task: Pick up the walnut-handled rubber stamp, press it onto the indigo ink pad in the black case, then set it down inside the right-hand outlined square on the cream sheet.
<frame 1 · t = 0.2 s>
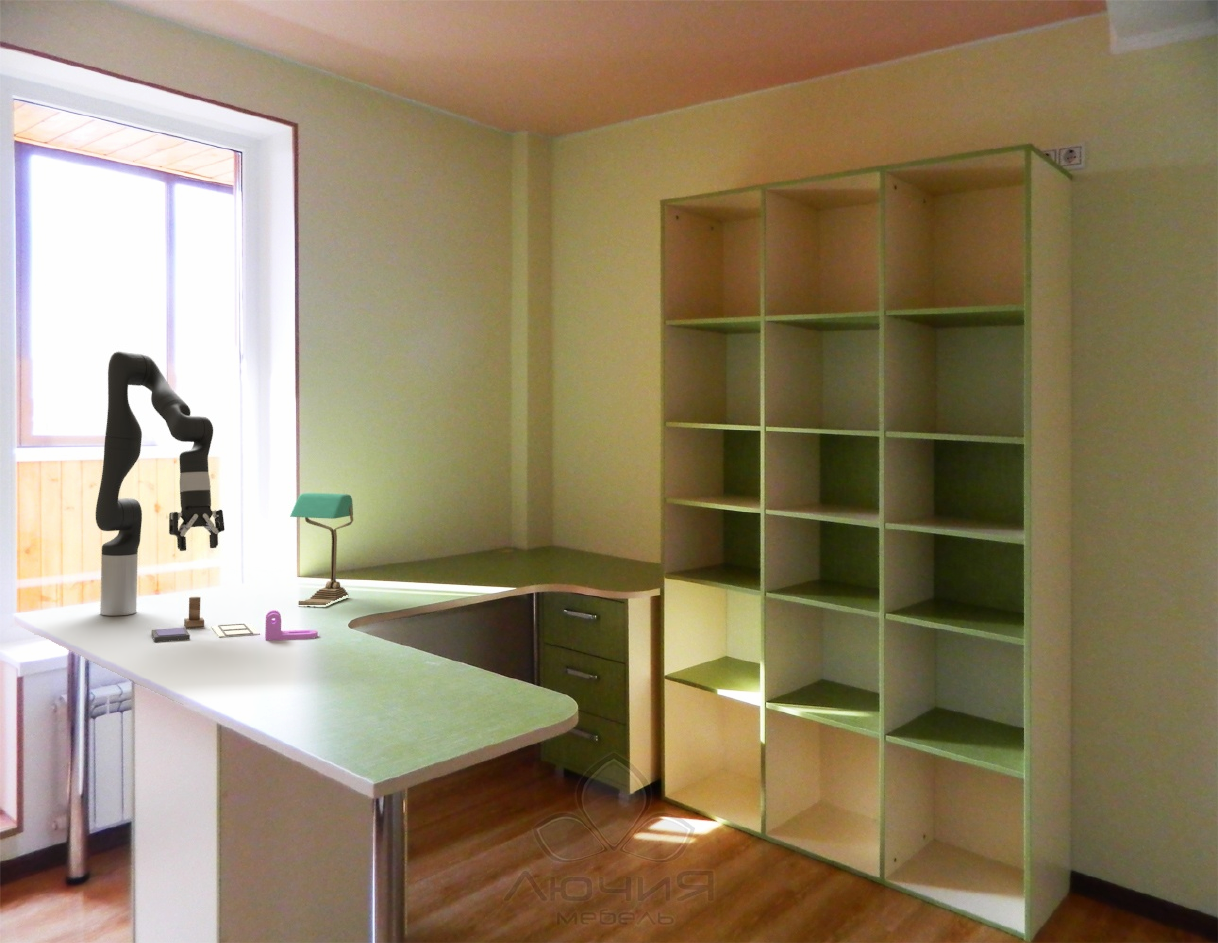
hand: (198, 549, 247), 22 cm above the table, tool pointing down, fingers open, 8 cm apart
stamp: (194, 626, 250), on the table
bracket: (291, 638, 242), on the table
ink pad: (170, 636, 237), on the table
banker's lamp: (323, 603, 294), on the table
sheet: (235, 630, 247), on the table
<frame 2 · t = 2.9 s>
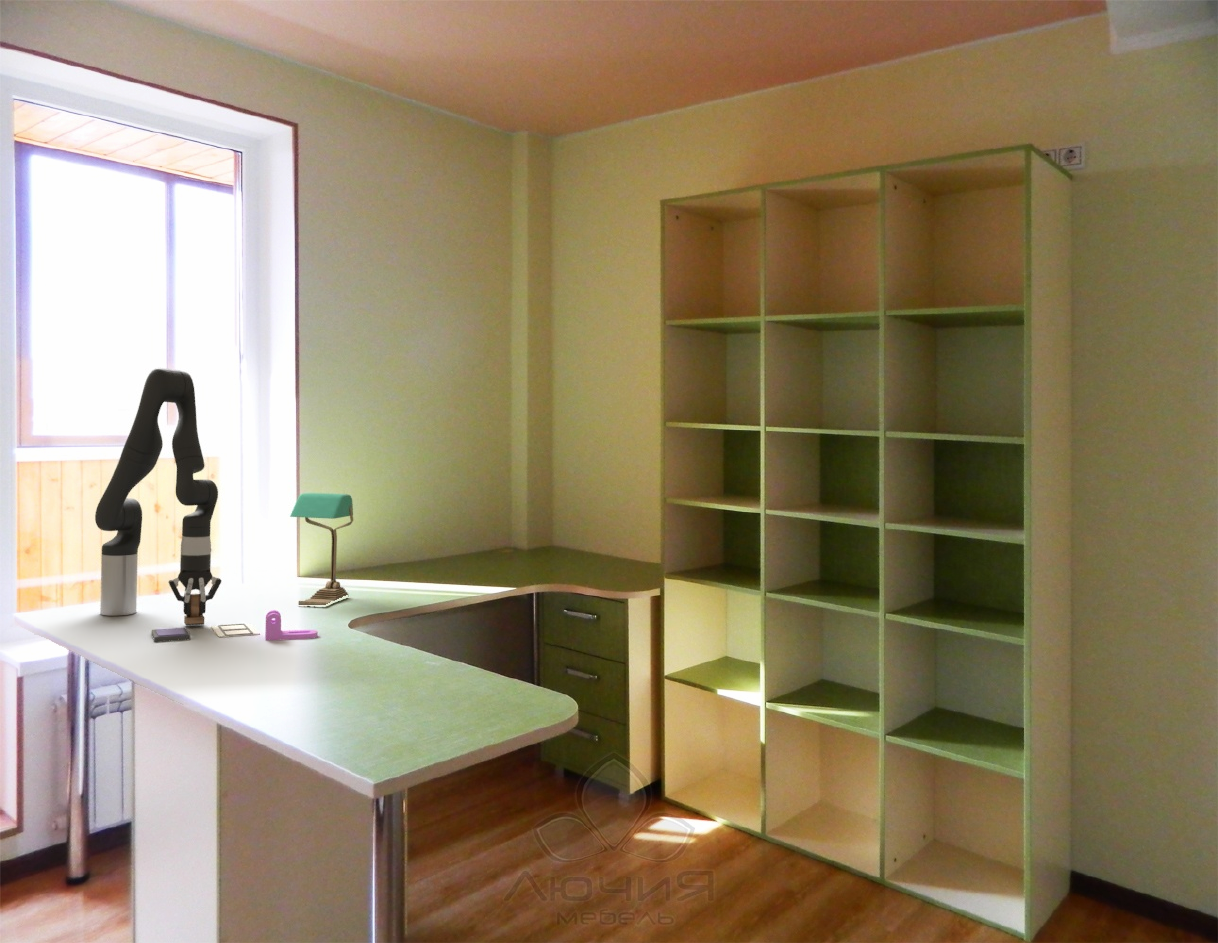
hand: (194, 615, 250), 3 cm above the table, tool pointing down, fingers closed on stamp, 2 cm apart
stamp: (194, 623, 250), point 1 cm above the table, touching gripper
everything else where it was.
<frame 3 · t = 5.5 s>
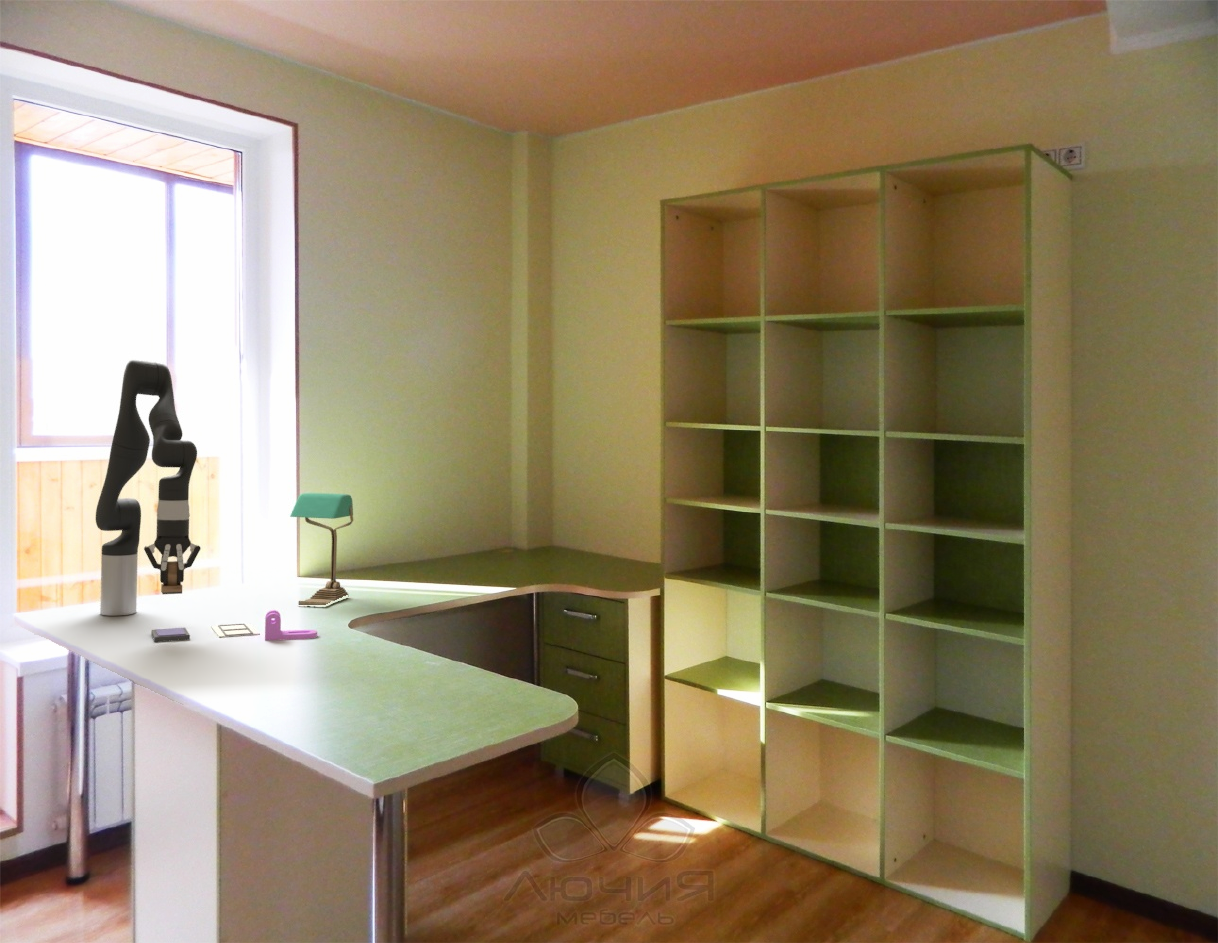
hand: (171, 584, 236), 14 cm above the table, tool pointing down, fingers closed on stamp, 2 cm apart
stamp: (171, 592, 236), point 12 cm above the table, touching gripper
everything else where it was.
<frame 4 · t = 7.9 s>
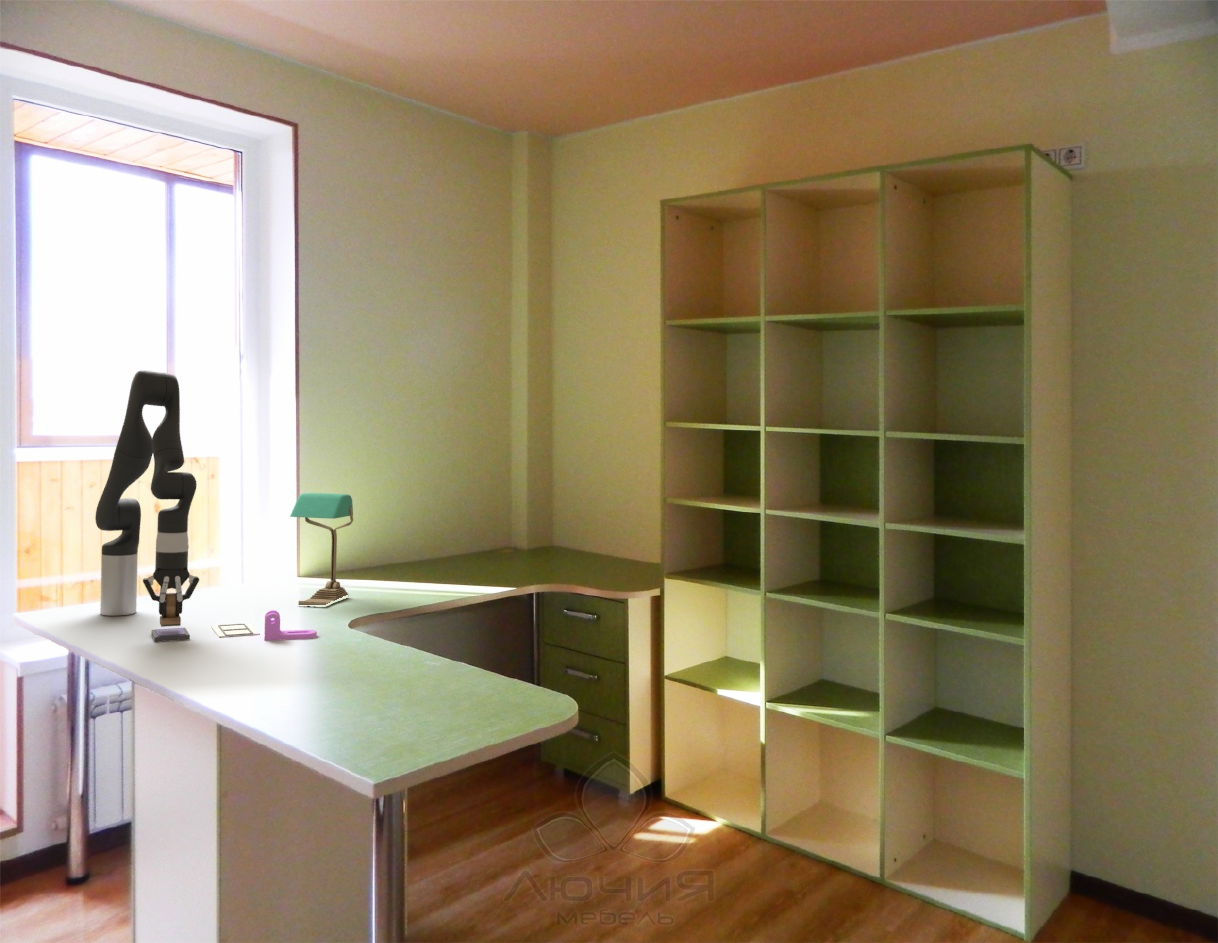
hand: (170, 615, 237), 5 cm above the table, tool pointing down, fingers closed on stamp, 2 cm apart
stamp: (170, 624, 237), point 3 cm above the table, touching gripper
everything else where it was.
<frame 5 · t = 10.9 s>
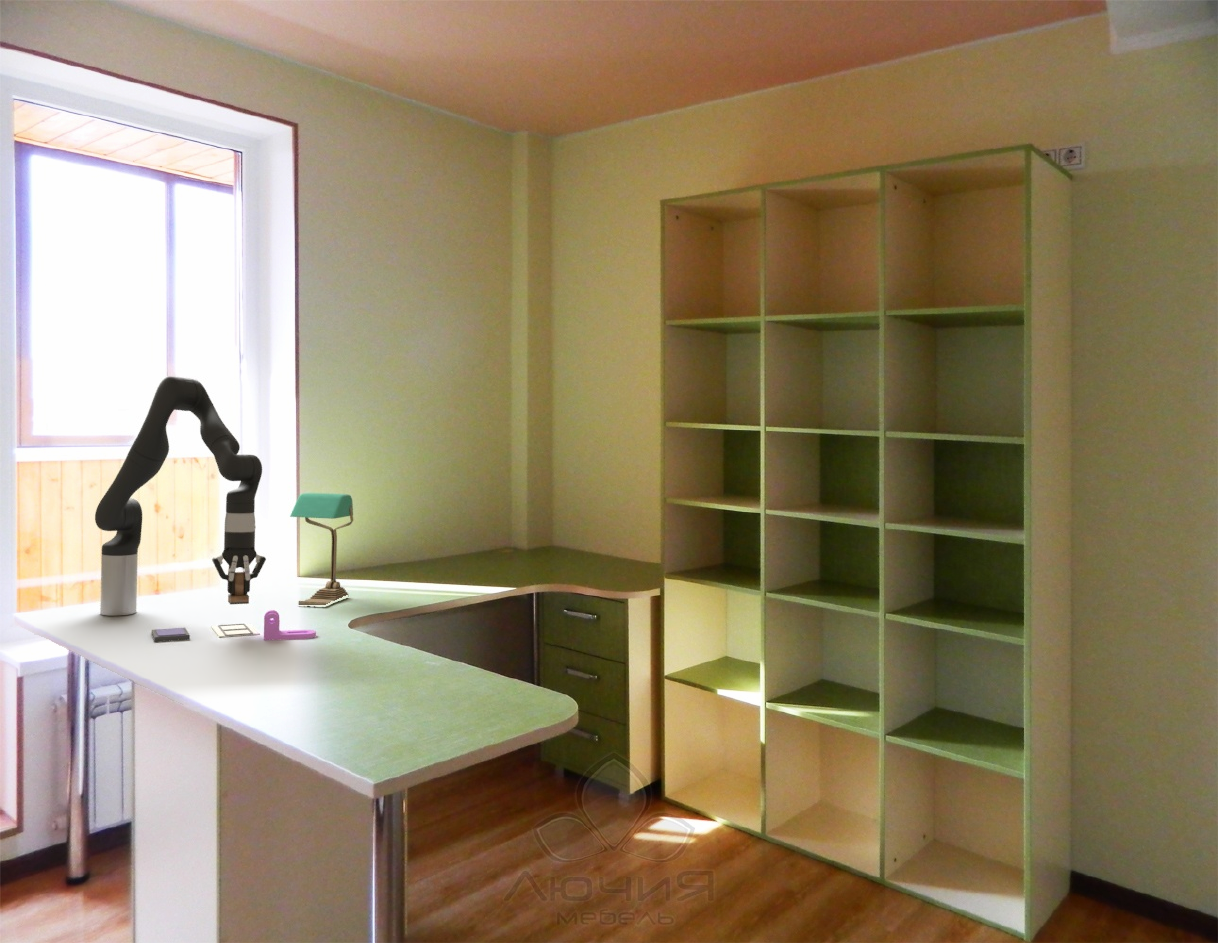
hand: (238, 594, 243), 10 cm above the table, tool pointing down, fingers closed on stamp, 2 cm apart
stamp: (238, 602, 243), point 8 cm above the table, touching gripper
everything else where it was.
when the fingers open (4 cm above the table, at t = 13.3 s): stamp drops 1 cm, resting on sheet.
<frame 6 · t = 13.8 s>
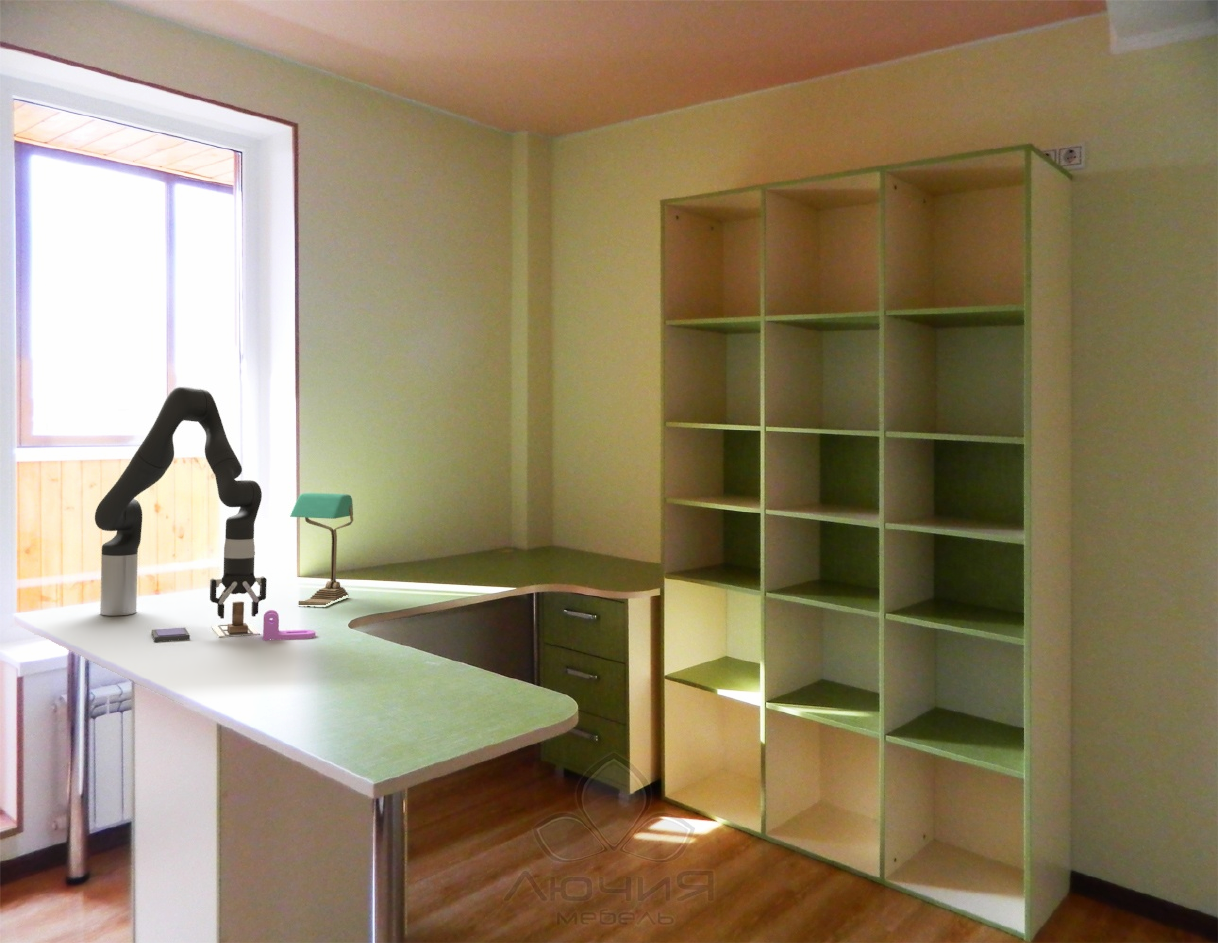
hand: (237, 616, 243), 4 cm above the table, tool pointing down, fingers open, 7 cm apart
stamp: (237, 632, 243), resting on sheet
everything else where it was.
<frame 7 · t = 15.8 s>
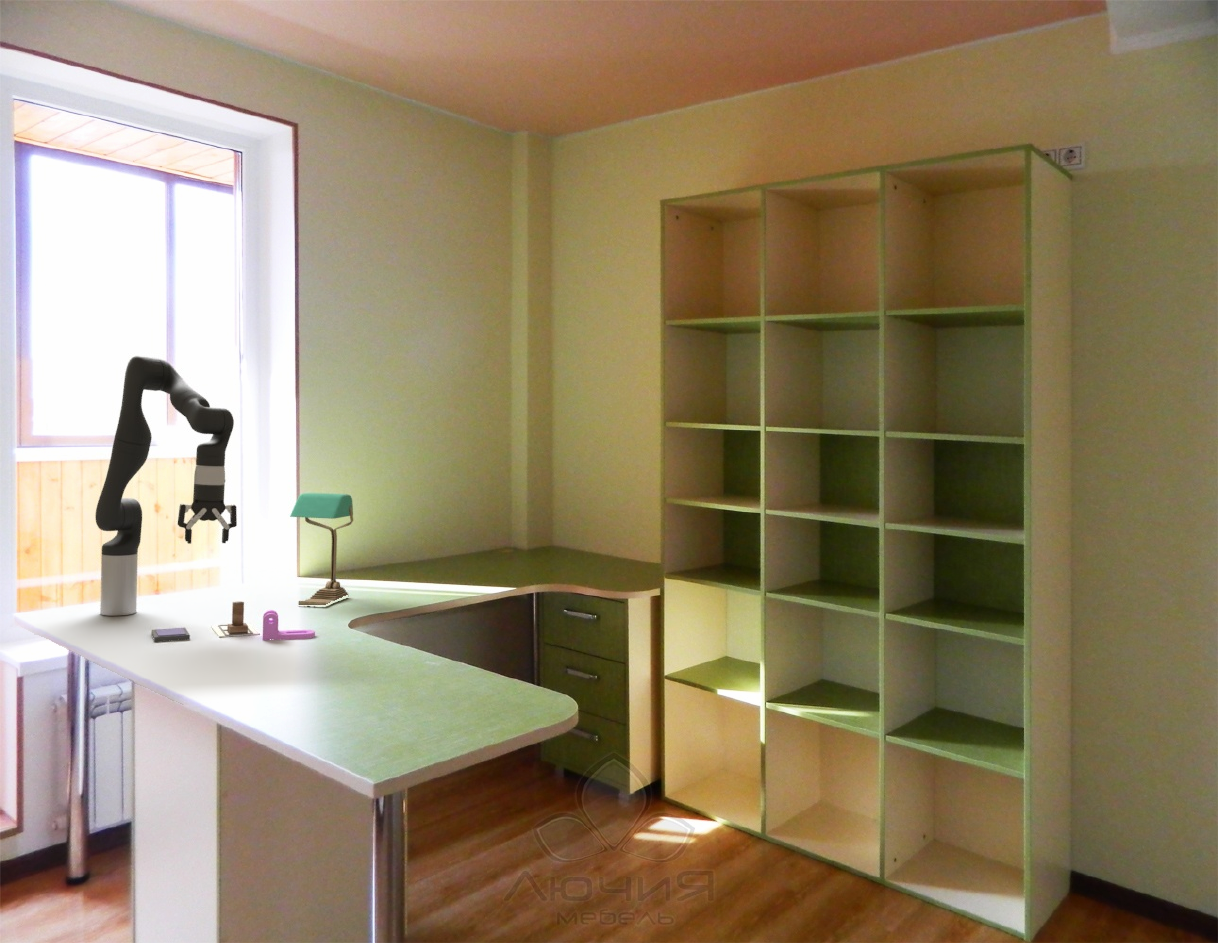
hand: (206, 543, 244), 24 cm above the table, tool pointing down, fingers open, 8 cm apart
nothing on the table moved.
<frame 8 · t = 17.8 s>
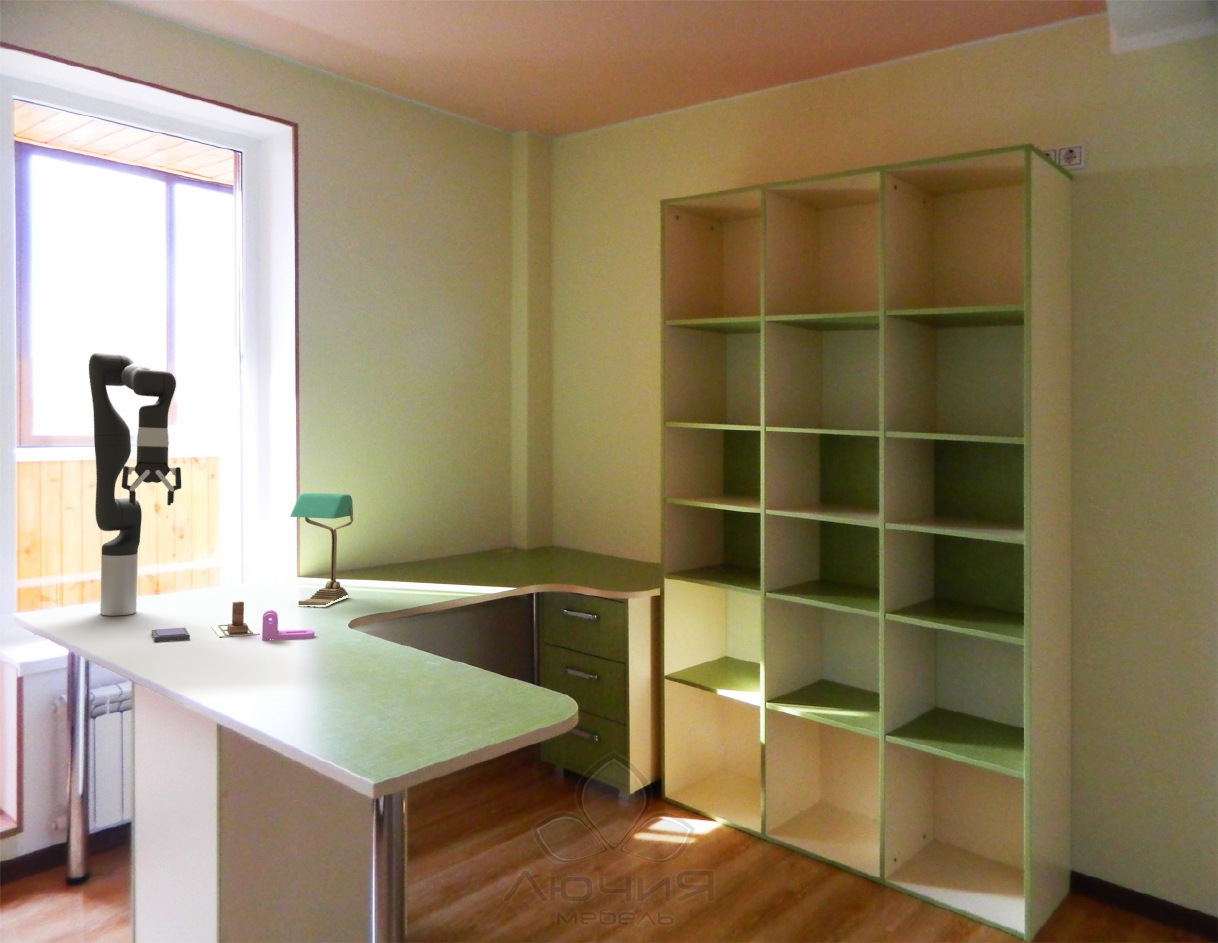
hand: (151, 505, 246), 33 cm above the table, tool pointing down, fingers open, 8 cm apart
nothing on the table moved.
at the end: stamp 0.1 cm from the target spot on the sheet, point 0.3 cm above the sheet's base; stamp tilted 0°; the gripper is holding nothing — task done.
